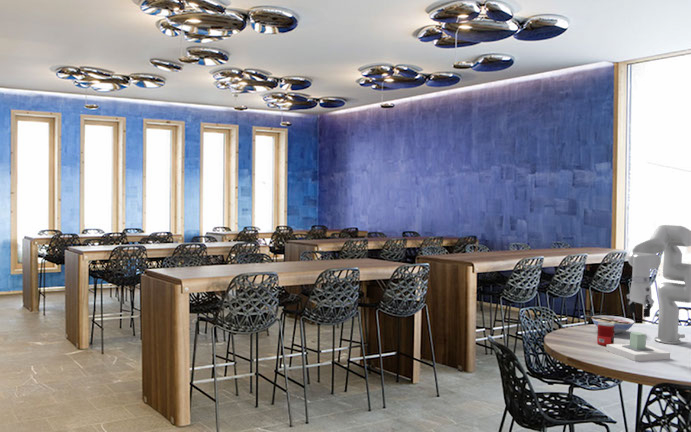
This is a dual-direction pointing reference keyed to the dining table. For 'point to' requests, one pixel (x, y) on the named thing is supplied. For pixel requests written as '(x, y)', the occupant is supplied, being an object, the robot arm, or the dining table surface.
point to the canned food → (605, 333)
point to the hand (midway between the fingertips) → (639, 314)
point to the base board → (637, 352)
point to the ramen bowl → (614, 322)
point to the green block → (637, 340)
